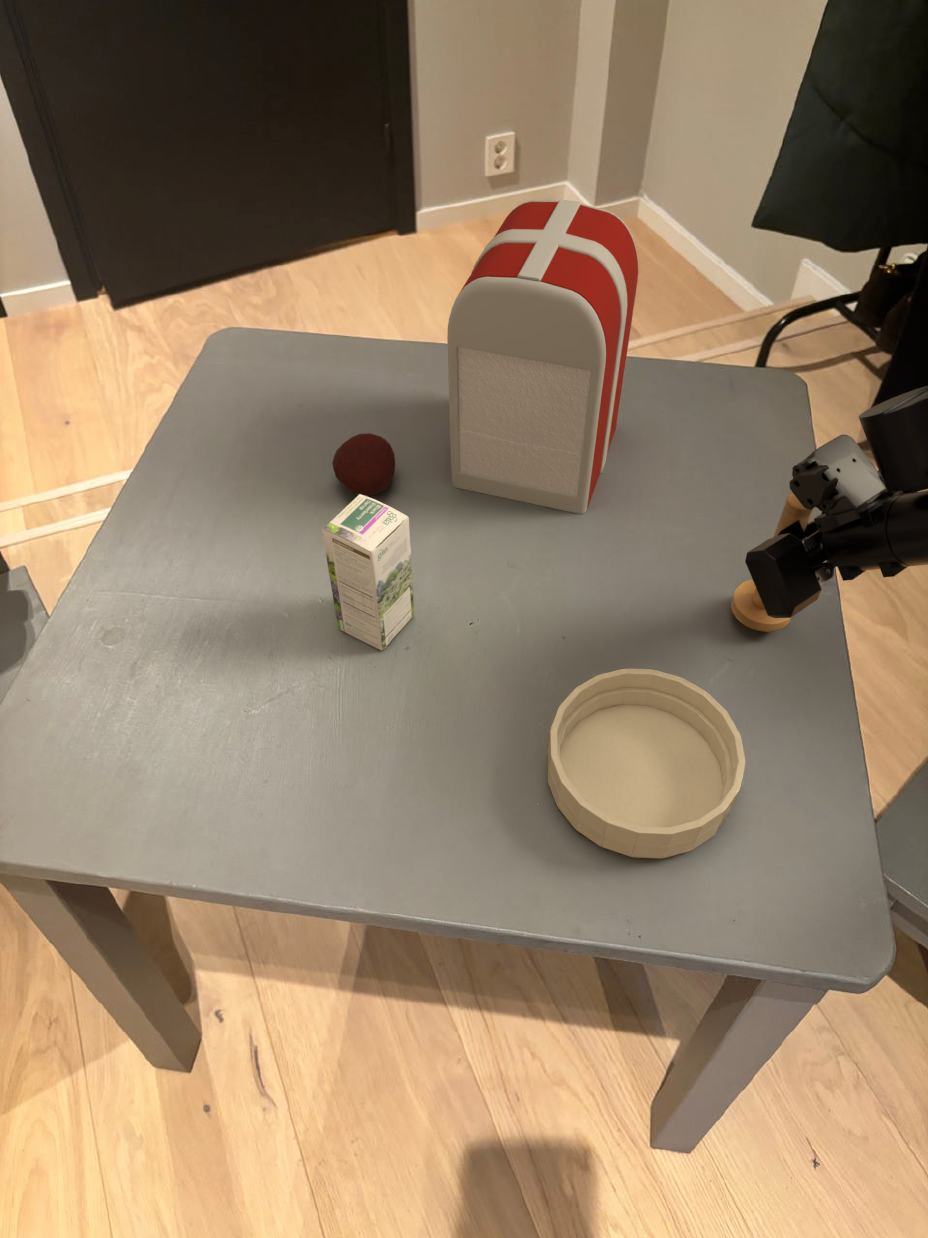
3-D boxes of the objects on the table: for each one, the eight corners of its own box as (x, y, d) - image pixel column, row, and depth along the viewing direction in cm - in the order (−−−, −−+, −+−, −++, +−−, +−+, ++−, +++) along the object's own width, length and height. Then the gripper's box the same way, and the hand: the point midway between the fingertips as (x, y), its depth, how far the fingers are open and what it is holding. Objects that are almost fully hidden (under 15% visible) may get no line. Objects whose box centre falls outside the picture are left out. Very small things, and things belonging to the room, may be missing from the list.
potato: (322, 498, 103) (315, 458, 99) (352, 455, 108) (347, 414, 104) (381, 513, 102) (376, 473, 97) (409, 468, 107) (406, 427, 102)
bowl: (745, 730, 83) (758, 698, 79) (712, 888, 73) (725, 861, 69) (576, 680, 86) (580, 648, 82) (522, 824, 77) (525, 795, 73)
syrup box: (370, 594, 94) (356, 489, 83) (417, 617, 92) (409, 512, 81) (337, 630, 91) (318, 526, 80) (384, 654, 89) (371, 551, 78)
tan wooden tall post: (796, 595, 91) (840, 486, 80) (787, 638, 87) (832, 530, 76) (736, 580, 92) (771, 471, 81) (726, 622, 89) (761, 514, 78)
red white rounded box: (447, 486, 104) (440, 267, 84) (492, 398, 115) (495, 185, 94) (586, 515, 101) (615, 295, 80) (619, 422, 112) (651, 206, 91)
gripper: (948, 391, 73) (803, 432, 87) (794, 484, 66) (664, 512, 80) (993, 516, 75) (844, 536, 89) (848, 618, 68) (712, 623, 82)
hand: (769, 548), depth 85 cm, fingers closed on tan wooden tall post, 2 cm apart
